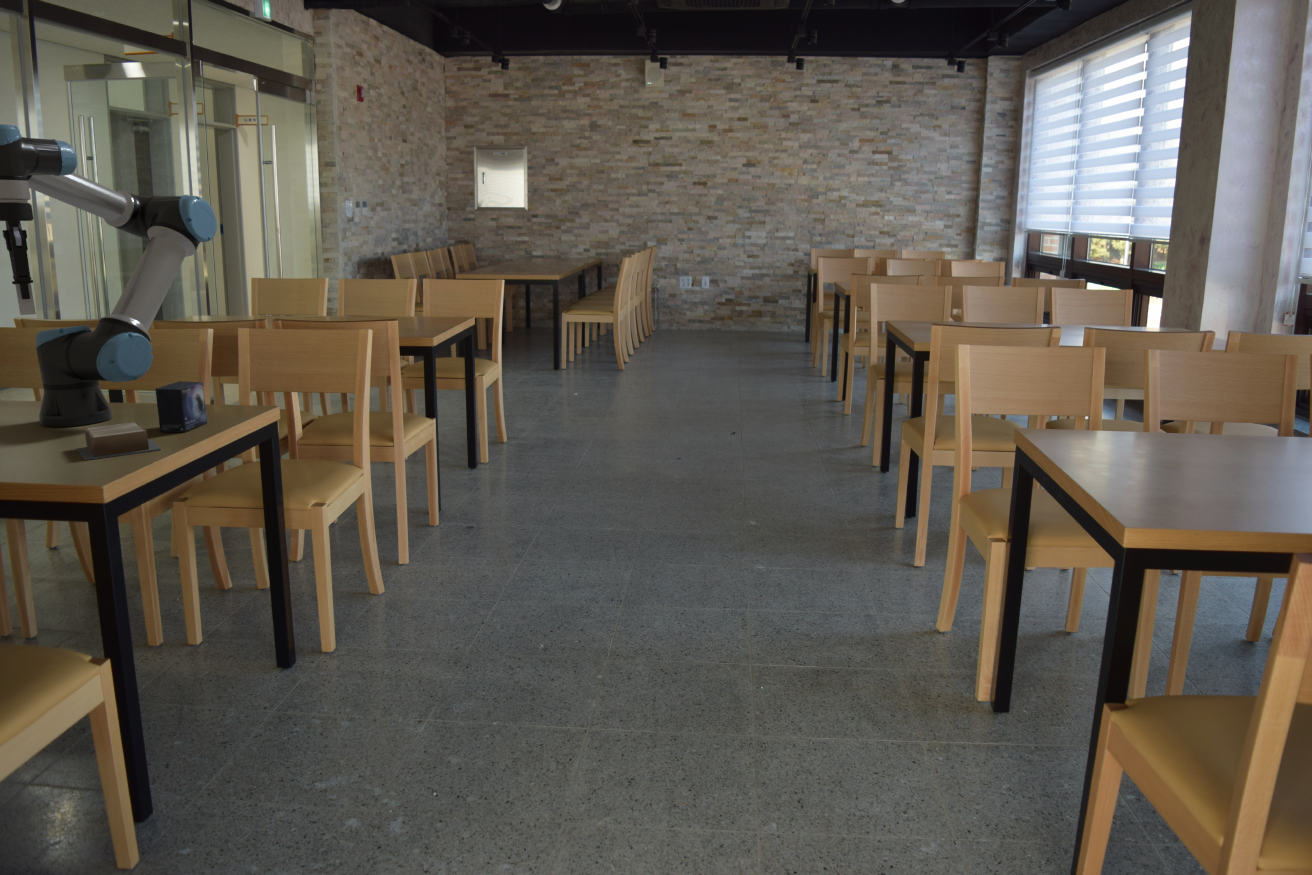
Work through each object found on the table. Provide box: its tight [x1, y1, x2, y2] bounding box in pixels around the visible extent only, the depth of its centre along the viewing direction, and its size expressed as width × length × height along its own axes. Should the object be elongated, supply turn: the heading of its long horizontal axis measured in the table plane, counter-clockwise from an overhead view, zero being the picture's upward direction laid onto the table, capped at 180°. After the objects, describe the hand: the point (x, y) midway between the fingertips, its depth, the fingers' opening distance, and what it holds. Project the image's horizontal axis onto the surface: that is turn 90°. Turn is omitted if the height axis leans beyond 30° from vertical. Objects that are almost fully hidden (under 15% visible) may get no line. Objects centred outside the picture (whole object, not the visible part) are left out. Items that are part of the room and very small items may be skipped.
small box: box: [154, 380, 208, 433], centre depth 215 cm, size 11×6×10 cm, turn 179°
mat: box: [76, 438, 161, 462], centre depth 195 cm, size 12×14×1 cm
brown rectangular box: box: [83, 421, 149, 457], centre depth 195 cm, size 4×10×12 cm
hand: (28, 314), depth 196 cm, fingers closed
